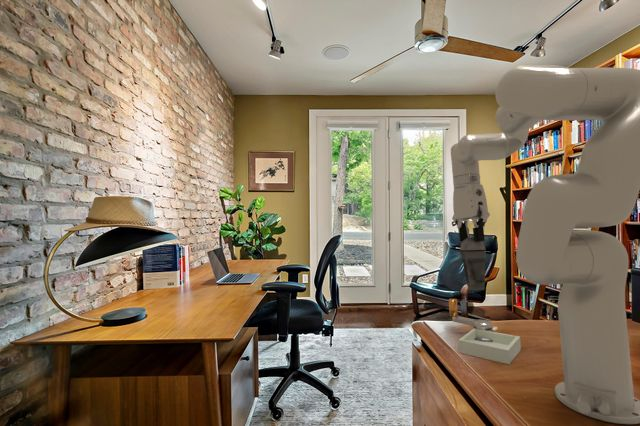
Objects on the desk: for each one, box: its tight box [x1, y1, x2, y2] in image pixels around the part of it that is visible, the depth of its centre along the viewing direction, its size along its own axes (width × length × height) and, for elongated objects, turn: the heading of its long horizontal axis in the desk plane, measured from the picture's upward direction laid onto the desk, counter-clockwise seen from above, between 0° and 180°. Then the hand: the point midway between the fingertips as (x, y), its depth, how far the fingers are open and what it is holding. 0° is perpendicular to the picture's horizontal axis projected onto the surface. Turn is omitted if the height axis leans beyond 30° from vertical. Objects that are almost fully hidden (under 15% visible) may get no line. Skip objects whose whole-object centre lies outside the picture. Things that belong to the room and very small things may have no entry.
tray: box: [458, 328, 522, 365], centre depth 82 cm, size 12×12×3 cm
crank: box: [448, 298, 494, 331], centre depth 94 cm, size 13×5×7 cm, turn 35°
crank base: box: [465, 330, 493, 342], centre depth 91 cm, size 9×9×3 cm
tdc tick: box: [490, 326, 499, 332], centre depth 98 cm, size 3×1×1 cm, turn 136°
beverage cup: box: [459, 223, 487, 291], centre depth 94 cm, size 7×7×20 cm
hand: (471, 240), depth 94 cm, fingers closed on beverage cup, 5 cm apart
